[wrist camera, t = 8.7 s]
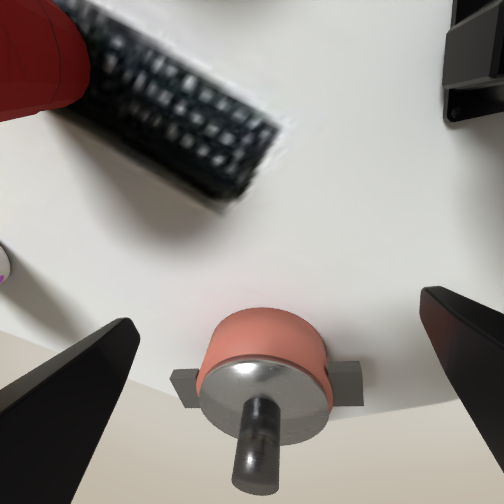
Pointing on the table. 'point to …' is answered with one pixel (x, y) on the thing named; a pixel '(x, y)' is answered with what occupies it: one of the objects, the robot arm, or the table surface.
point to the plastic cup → (39, 59)
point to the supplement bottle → (4, 265)
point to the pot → (273, 354)
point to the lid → (262, 413)
